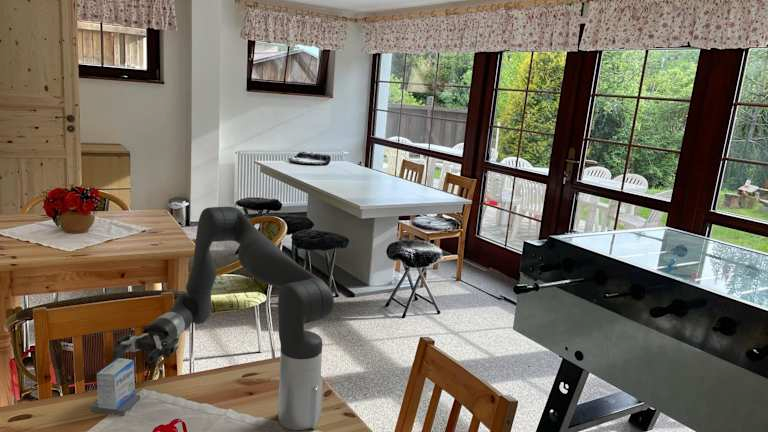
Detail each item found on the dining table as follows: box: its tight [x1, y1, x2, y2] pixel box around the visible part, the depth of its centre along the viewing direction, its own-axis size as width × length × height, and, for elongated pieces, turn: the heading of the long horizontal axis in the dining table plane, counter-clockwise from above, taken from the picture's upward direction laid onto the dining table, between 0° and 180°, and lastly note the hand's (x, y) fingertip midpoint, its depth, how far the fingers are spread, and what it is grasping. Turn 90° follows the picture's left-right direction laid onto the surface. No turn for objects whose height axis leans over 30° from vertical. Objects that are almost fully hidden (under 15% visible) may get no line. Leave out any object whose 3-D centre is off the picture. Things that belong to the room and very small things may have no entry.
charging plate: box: [90, 393, 141, 416], centre depth 137 cm, size 8×7×1 cm
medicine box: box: [96, 357, 136, 410], centre depth 136 cm, size 8×4×9 cm, turn 172°
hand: (131, 357), depth 142 cm, fingers open, 8 cm apart
